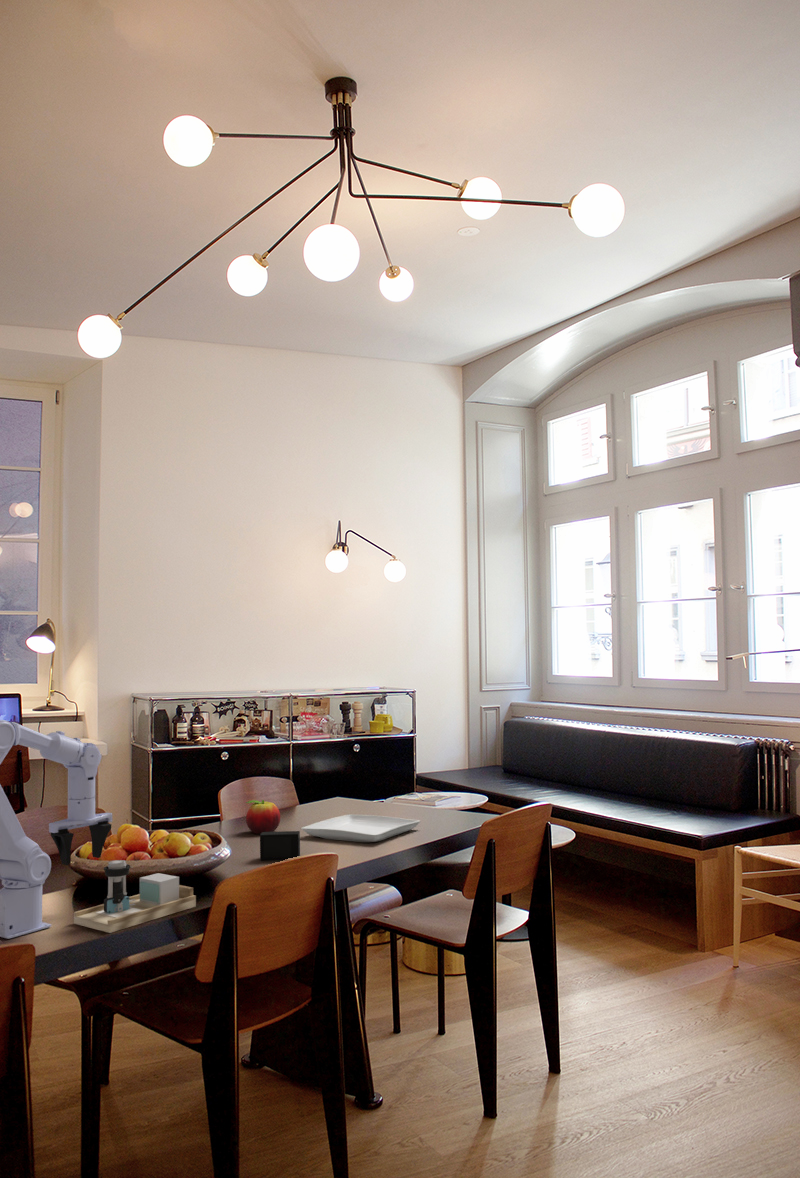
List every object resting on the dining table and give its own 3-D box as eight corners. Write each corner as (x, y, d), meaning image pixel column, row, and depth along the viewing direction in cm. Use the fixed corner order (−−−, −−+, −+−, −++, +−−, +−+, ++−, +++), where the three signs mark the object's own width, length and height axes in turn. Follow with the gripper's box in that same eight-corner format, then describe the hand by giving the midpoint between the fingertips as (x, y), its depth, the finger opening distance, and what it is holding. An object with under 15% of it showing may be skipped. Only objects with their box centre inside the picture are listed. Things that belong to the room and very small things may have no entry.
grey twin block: (159, 906, 187) (159, 882, 188) (138, 901, 191) (138, 878, 192) (179, 900, 192) (179, 876, 192) (158, 896, 196) (158, 873, 196)
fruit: (277, 835, 270) (277, 802, 271) (242, 836, 270) (242, 803, 271) (283, 828, 281) (282, 796, 282) (249, 829, 281) (249, 797, 282)
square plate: (376, 847, 251) (376, 833, 251) (299, 839, 264) (298, 826, 264) (422, 830, 274) (421, 818, 274) (348, 824, 288) (348, 812, 288)
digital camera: (300, 855, 241) (300, 829, 241) (299, 860, 235) (298, 833, 236) (262, 856, 240) (262, 830, 241) (260, 861, 235) (259, 834, 236)
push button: (129, 904, 189) (129, 857, 190) (140, 909, 185) (140, 860, 186) (99, 911, 184) (99, 862, 185) (110, 916, 180) (110, 866, 181)
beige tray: (110, 932, 174) (110, 912, 174) (73, 923, 181) (74, 904, 181) (195, 906, 192) (195, 888, 192) (159, 898, 199) (159, 881, 199)
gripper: (62, 804, 185) (62, 869, 184) (120, 794, 197) (120, 856, 196) (43, 801, 189) (43, 865, 188) (101, 792, 201) (101, 852, 200)
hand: (81, 860), depth 192 cm, fingers open, 7 cm apart
